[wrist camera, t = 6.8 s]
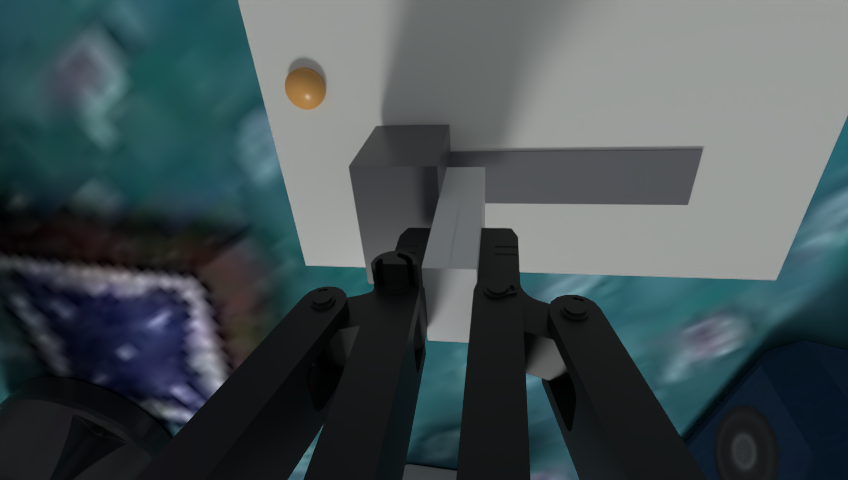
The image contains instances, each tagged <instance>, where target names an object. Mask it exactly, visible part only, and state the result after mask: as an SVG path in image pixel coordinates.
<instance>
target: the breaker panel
mask: <svg viewBox="0 0 848 480" xmlns="http://www.w3.org/2000/svg"><path fill="white" fill-rule="evenodd" d="M238 2H239V6H240V10H241V14H242V18H243V22H244V26H245V30H246V34H247V37H248V41H249V45H250V49H251V53H252V57H253V61H254V65H255V69H256V72H257V76H258V80H259V84H260V88H261V92H262V96H263V100H264V104H265V108H266V111H267V115H268V119H269V123H270V127H271V131H272V135H273V139H274V143H275V146H276V150H277V154H278V158H279V162H280V166H281V170H282V174H283V178H284V182H285V185H286V189H287V193H288V197H289V201H290V205H291V209H292V213H293V217H294V220H295V224H296V228H297V232H298V236H299V240H300V244H301V248H302V252H303V256H304V259H305V263H306V265H309V266H341V267H366V266H365V260H364V254H363V248H362V242H361V236H360V230H359V225H358V219H357V213H356V207H355V201H354V195H353V189H352V184H351V178H350V172H349V165H350V164H351V162H352V161H353V159H354V158H355V156H356V155H357V153H358V152H359V150H360V149H361V147H362V146H363V145H364V143H365V142H366V140H367V139H368V137H369V136H370V134H371V133H372V131H373V130H374V128H375V127H376V126H396V125H449V126H450V151H451V167H485V228H511V229H512V230H513V231H514V232H515V234H516V235H517V236H518V248H519V271H520V272H531V273H563V274H594V275H626V276H658V277H689V278H721V279H753V280H776V279H777V277H778V275H779V272H780V270H781V268H782V265H783V263H784V261H785V258H786V256H787V254H788V252H789V249H790V247H791V245H792V242H793V240H794V238H795V235H796V233H797V231H798V229H799V226H800V224H801V222H802V219H803V217H804V215H805V212H806V210H807V208H808V206H809V203H810V201H811V199H812V196H813V194H814V192H815V189H816V187H817V185H818V183H819V180H820V178H821V176H822V173H823V171H824V169H825V166H826V164H827V162H828V160H829V157H830V155H831V153H832V150H833V148H834V146H835V143H836V141H837V139H838V137H839V134H840V132H841V130H842V127H843V125H844V123H845V120H846V118H847V116H848V0H238Z"/></svg>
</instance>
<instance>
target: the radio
mask: <svg viewBox="0 0 848 480" xmlns="http://www.w3.org/2000/svg"><path fill="white" fill-rule="evenodd" d="M685 445H686V446H687V448H688V450H689V451H690V453H691V454H692V456H693V458H694V459H695V461H696V462H697V464H698V466H699V467H700V469H701V470H702V472H703V474H704V475H705V477H706V478H707V480H848V350H845V349H840V348H836V347H832V346H827V345H823V344H819V343H814V342H810V341H806V340H803V341H799V342H795V343H792V344H788V345H785V346H781V347H777V348H774V349H770V350H766V351H765V352H764V353H763V354H762V356H761V357H760V358H759V359H758V360H757V361H756V362H755V364H754V365H753V366H752V367H751V368H750V369H749V370H748V371H747V373H746V374H745V375H744V376H743V377H742V378H741V379H740V381H739V382H738V383H737V384H736V385H735V386H734V387H733V389H732V390H731V391H730V392H729V393H728V394H727V395H726V397H725V398H724V399H723V400H722V401H721V402H720V403H719V405H718V406H717V407H716V408H715V409H714V410H713V411H712V413H711V414H710V415H709V416H708V417H707V418H706V419H705V420H704V422H703V423H702V424H701V425H700V426H699V427H698V428H697V430H696V431H695V432H694V433H693V434H692V435H691V436H690V438H689V439H688V440H687V441H686V442H685Z"/></svg>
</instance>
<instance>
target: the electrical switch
mask: <svg viewBox="0 0 848 480" xmlns="http://www.w3.org/2000/svg"><path fill="white" fill-rule="evenodd" d="M456 476H457V471H454V470H447V469H440V468H433V467H426V466H418V465H411V464H408V465H405V468H404V474H403V479H402V480H456Z"/></svg>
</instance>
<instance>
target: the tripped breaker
mask: <svg viewBox="0 0 848 480" xmlns="http://www.w3.org/2000/svg"><path fill="white" fill-rule="evenodd" d="M447 167H451V151H450V126H449V125H396V126H376V127H375V128H374V130H373V131H372V133H371V134H370V136H369V137H368V139H367V140H366V142H365V143H364V145H363V146H362V147H361V149H360V150H359V152H358V153H357V155H356V156H355V158H354V159H353V161H352V162H351V164H350V165H349V172H350V178H351V184H352V189H353V195H354V201H355V207H356V213H357V219H358V225H359V230H360V236H361V242H362V248H363V254H364V260H365V266H366V272H367V277H368V283H369V284H374V281H373V275H372V269H371V262H372V261H373V260H374V258H376V257H377V256H379V255H380V254H383V253H386V252H389V251H395V248H396V246H397V243H398V240H399V237H400V235H401V234H402V233H403V232H404V231H405V230H407V229H408V228H432V224H433V220H434V216H435V212H436V208H437V204H438V200H439V197H440V193H441V189H442V185H443V181H444V177H445V173H446V169H447Z"/></svg>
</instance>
